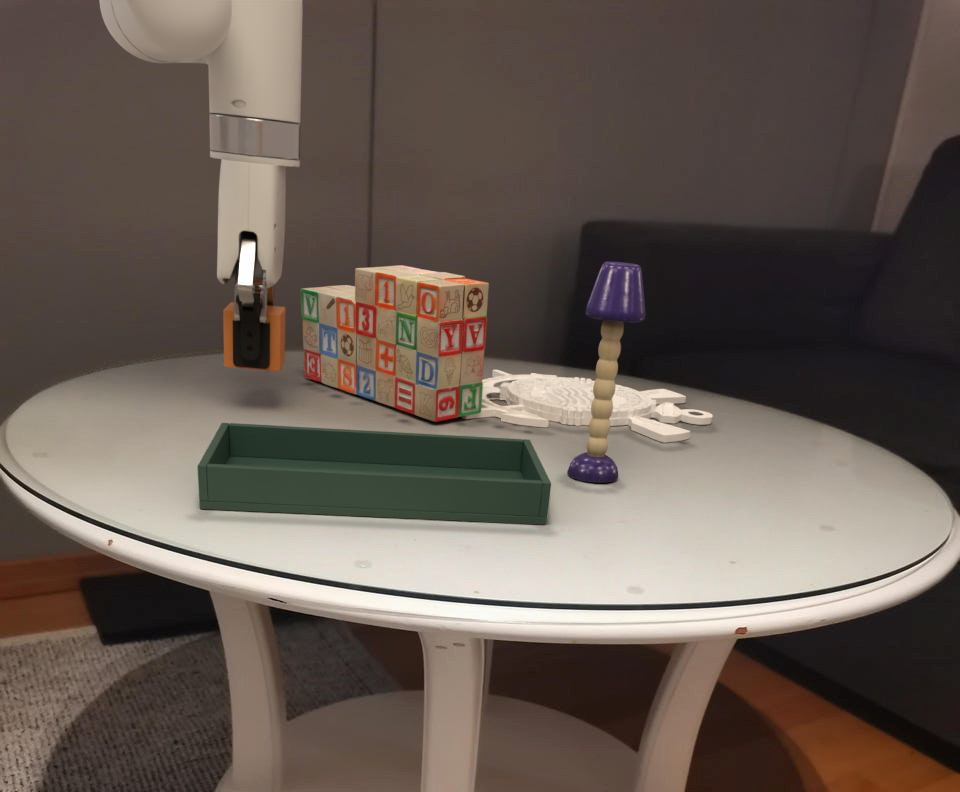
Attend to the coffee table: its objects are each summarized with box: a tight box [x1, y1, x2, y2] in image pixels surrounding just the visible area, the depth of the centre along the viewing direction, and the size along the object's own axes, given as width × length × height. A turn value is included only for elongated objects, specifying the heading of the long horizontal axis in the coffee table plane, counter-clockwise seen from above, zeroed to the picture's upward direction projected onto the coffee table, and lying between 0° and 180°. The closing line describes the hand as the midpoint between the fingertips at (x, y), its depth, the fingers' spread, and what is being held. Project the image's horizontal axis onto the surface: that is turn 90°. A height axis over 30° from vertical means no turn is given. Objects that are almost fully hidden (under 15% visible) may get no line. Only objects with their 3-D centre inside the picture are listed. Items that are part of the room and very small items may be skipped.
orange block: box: [222, 301, 286, 372], centre depth 90 cm, size 5×5×5 cm
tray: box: [197, 422, 552, 525], centre depth 72 cm, size 24×11×3 cm, turn 95°
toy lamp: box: [567, 261, 646, 484], centre depth 78 cm, size 5×5×17 cm
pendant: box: [460, 369, 714, 444], centre depth 103 cm, size 21×28×1 cm
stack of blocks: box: [300, 264, 490, 423], centre depth 97 cm, size 21×6×12 cm, turn 44°
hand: (255, 358), depth 91 cm, fingers closed on orange block, 5 cm apart
